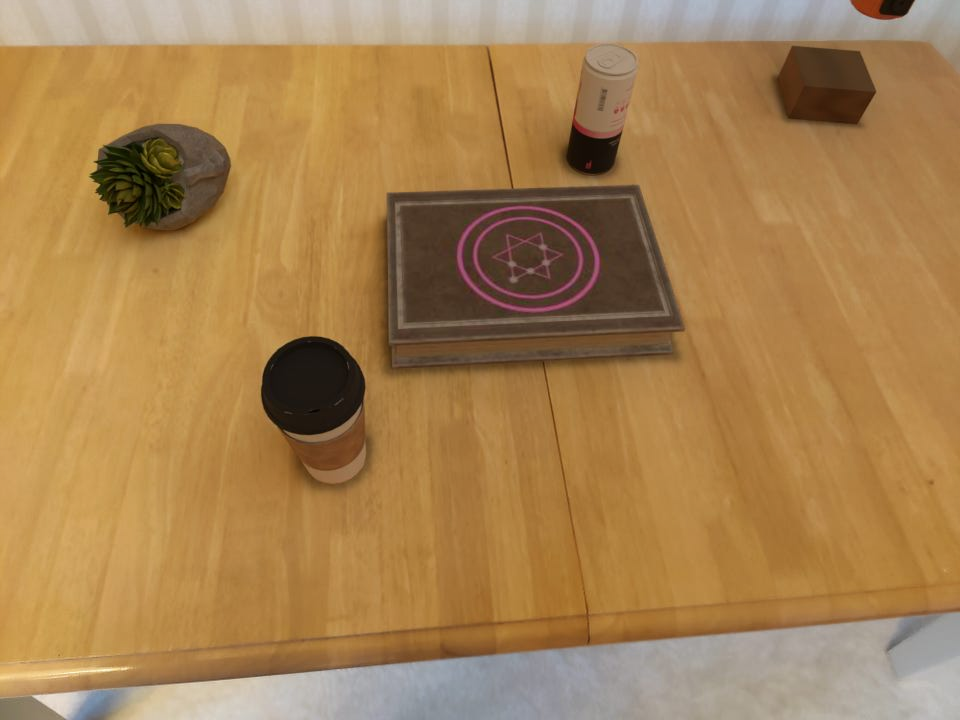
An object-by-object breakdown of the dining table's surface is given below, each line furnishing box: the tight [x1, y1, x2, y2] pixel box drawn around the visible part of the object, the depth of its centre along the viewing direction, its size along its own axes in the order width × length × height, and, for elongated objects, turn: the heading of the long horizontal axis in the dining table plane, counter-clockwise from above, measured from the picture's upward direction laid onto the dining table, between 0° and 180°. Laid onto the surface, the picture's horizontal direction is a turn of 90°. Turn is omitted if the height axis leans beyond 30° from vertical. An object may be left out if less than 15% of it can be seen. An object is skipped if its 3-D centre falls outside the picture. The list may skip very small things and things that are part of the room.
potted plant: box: [88, 123, 232, 231], centre depth 77 cm, size 12×13×15 cm
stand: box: [777, 45, 877, 125], centre depth 98 cm, size 10×10×6 cm
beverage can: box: [566, 42, 639, 176], centre depth 84 cm, size 6×7×15 cm
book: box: [386, 184, 686, 370], centre depth 76 cm, size 30×22×5 cm
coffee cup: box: [260, 335, 367, 485], centre depth 59 cm, size 8×8×15 cm
